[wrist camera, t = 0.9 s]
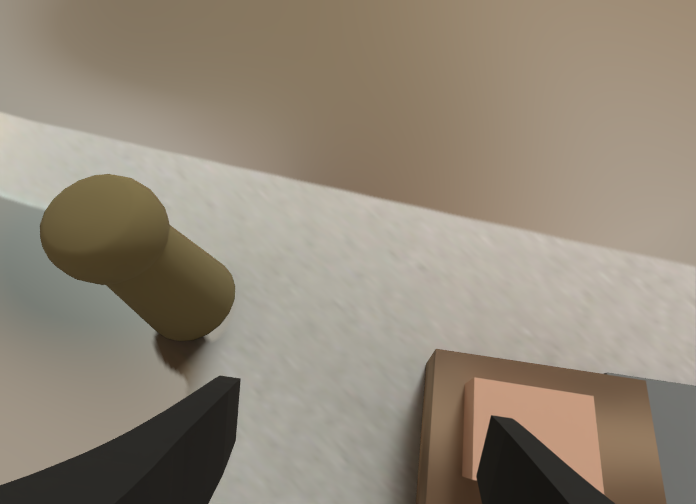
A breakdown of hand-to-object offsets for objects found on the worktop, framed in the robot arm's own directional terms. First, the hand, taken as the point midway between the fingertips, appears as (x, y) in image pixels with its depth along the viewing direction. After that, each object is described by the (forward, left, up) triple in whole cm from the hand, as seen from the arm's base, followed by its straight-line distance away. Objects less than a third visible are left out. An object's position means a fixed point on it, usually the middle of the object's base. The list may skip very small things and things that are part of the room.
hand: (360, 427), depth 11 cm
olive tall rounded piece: (+7, +13, -12) cm, 19 cm away
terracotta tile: (+1, -7, -8) cm, 11 cm away
